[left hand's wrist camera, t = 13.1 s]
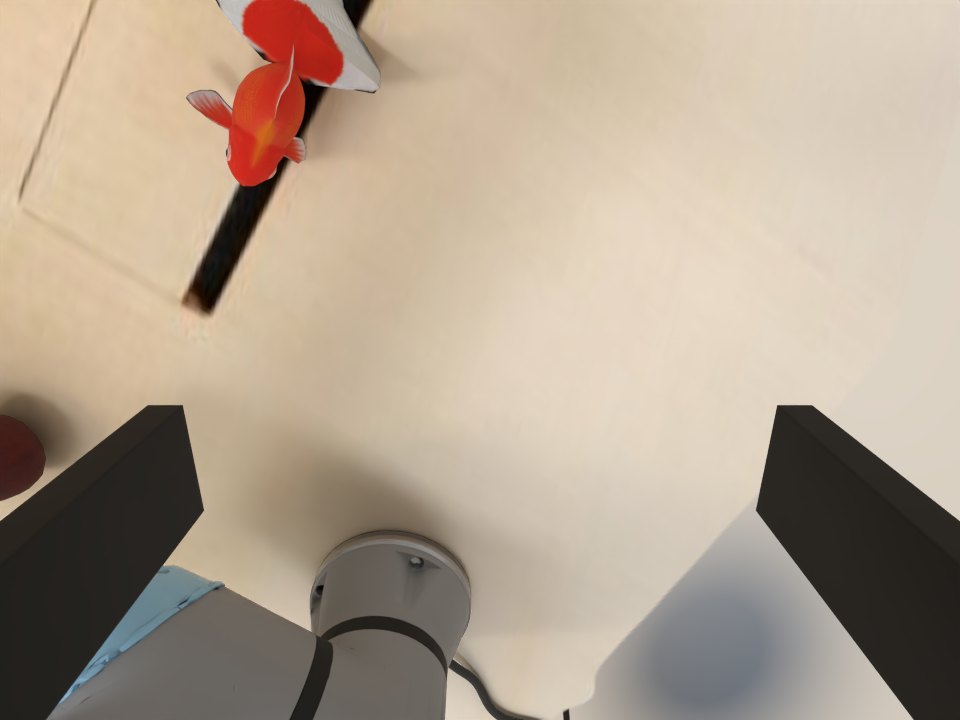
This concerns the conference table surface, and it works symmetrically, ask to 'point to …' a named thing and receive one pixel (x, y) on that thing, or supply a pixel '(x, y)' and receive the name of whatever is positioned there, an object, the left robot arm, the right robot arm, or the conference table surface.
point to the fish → (284, 78)
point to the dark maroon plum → (18, 457)
